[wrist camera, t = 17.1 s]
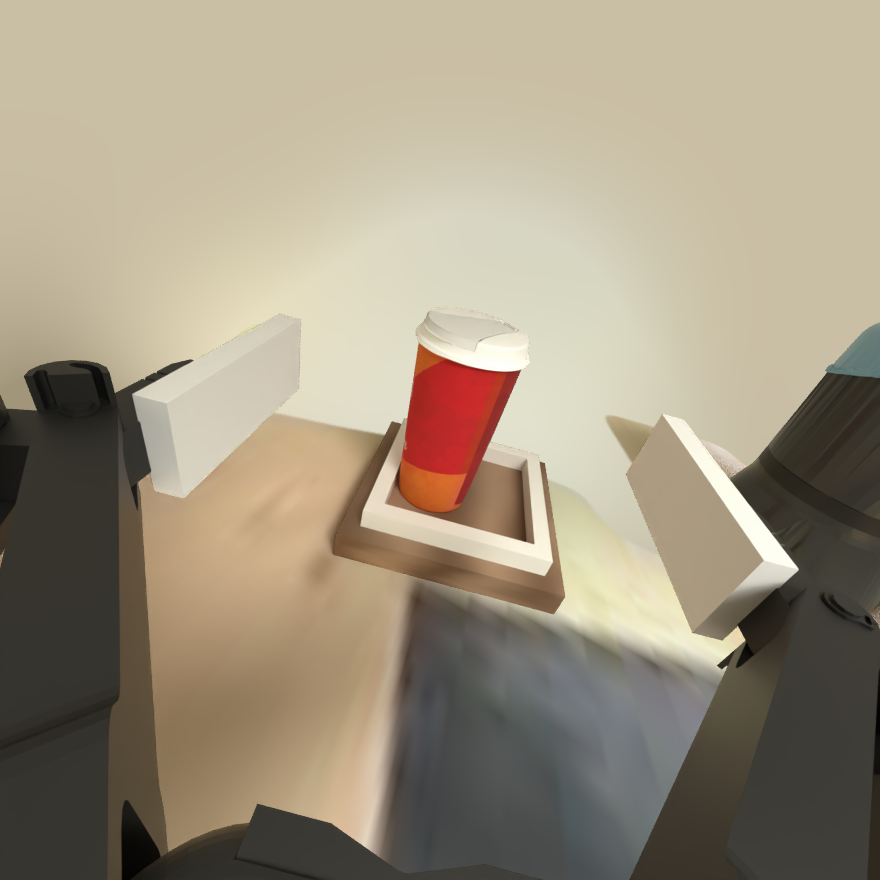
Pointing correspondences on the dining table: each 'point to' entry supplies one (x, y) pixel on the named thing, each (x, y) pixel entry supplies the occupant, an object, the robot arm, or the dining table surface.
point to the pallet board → (462, 528)
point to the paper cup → (456, 402)
